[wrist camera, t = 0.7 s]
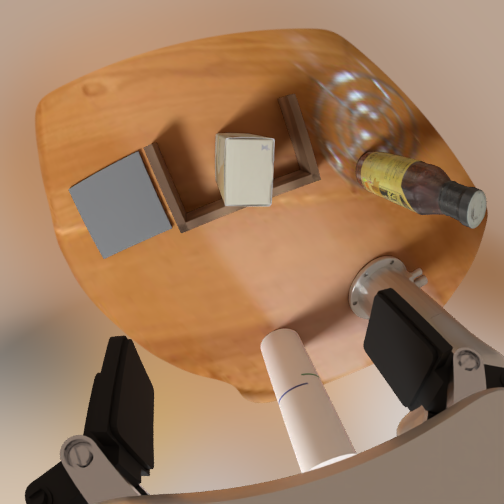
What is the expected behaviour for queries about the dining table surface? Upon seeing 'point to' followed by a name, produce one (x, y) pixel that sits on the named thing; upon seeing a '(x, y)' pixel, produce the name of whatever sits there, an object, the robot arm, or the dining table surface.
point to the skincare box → (244, 169)
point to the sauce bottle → (420, 187)
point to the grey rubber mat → (120, 206)
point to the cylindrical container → (304, 402)
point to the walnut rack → (280, 184)
